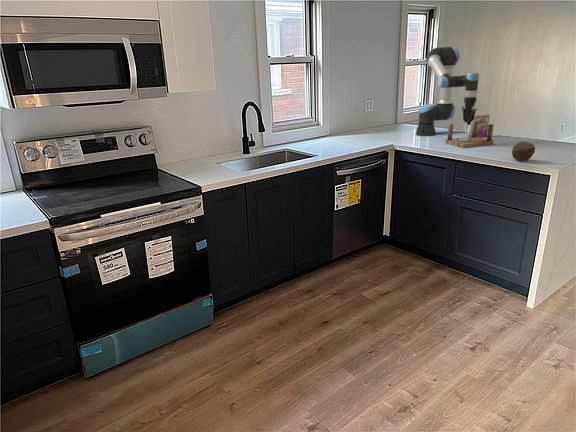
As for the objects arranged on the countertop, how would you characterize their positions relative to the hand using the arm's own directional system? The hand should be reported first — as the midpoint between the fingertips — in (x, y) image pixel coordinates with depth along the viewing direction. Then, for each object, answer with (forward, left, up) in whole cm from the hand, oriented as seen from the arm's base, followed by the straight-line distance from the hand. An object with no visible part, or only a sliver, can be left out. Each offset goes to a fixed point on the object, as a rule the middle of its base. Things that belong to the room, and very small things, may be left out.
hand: (466, 131), depth 292 cm
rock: (+54, -2, -9) cm, 55 cm away
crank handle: (+2, -4, -6) cm, 8 cm away
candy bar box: (-17, +23, -9) cm, 30 cm away
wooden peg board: (0, +2, -9) cm, 9 cm away
